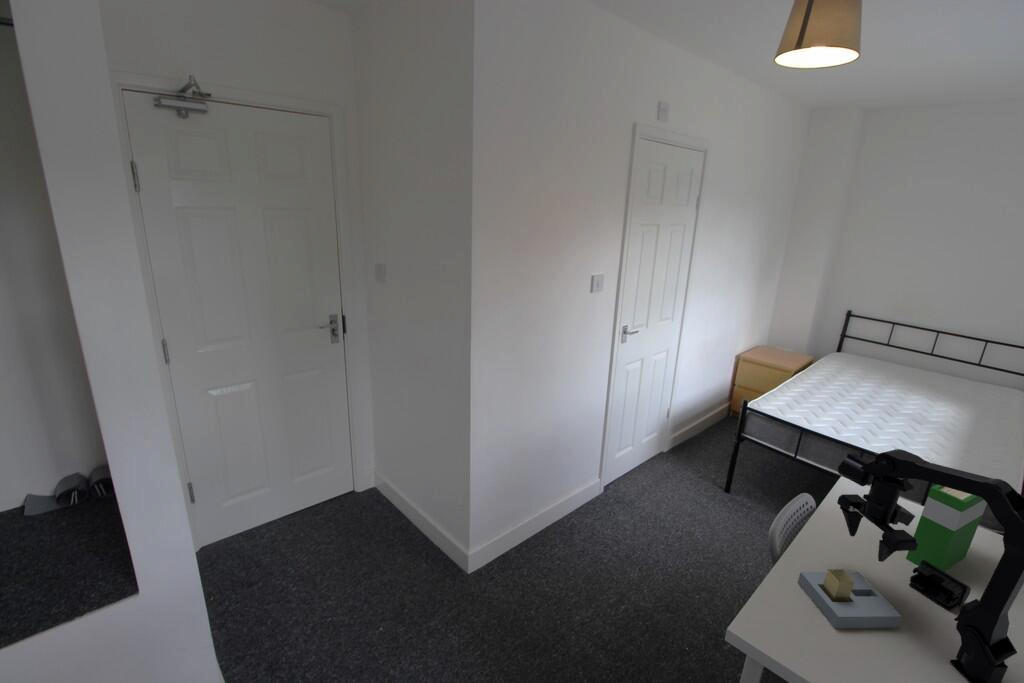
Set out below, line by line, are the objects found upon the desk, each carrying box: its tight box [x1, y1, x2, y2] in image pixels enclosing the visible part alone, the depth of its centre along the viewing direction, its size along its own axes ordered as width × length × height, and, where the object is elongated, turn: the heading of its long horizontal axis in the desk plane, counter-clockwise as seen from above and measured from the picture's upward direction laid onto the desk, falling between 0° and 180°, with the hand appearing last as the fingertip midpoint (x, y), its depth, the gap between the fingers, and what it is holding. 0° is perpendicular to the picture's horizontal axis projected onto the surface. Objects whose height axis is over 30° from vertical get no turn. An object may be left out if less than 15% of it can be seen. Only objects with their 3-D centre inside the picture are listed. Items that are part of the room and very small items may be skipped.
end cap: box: [908, 560, 972, 612], centre depth 123 cm, size 10×7×7 cm
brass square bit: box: [822, 568, 855, 602], centre depth 118 cm, size 4×4×9 cm
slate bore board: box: [797, 571, 902, 629], centre depth 119 cm, size 14×16×4 cm
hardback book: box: [905, 484, 988, 572], centre depth 134 cm, size 18×7×24 cm, turn 117°
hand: (866, 548), depth 122 cm, fingers open, 9 cm apart
